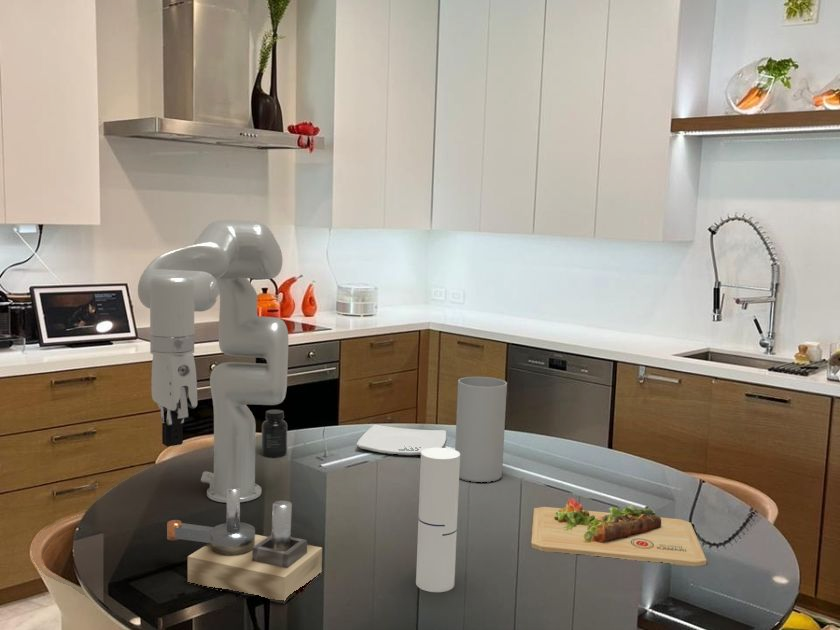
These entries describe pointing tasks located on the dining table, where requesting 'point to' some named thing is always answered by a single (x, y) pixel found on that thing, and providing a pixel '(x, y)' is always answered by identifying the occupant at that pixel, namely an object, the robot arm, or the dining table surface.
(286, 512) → the key peg
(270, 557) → the block
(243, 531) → the grey crank lever
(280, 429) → the supplement bottle
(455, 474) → the cylindrical container
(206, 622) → the dining table surface
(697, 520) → the dining table surface
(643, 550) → the cutting board
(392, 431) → the plate
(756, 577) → the dining table surface
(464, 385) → the cylinder vase
